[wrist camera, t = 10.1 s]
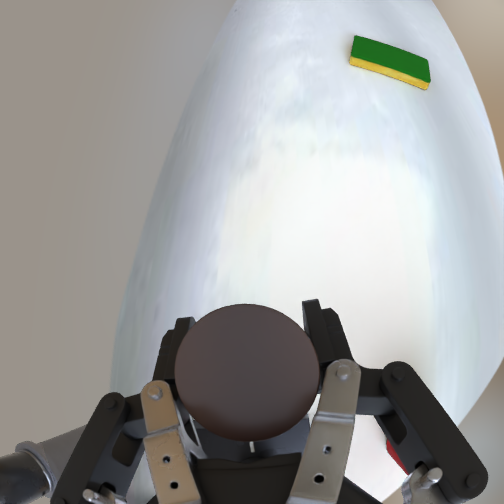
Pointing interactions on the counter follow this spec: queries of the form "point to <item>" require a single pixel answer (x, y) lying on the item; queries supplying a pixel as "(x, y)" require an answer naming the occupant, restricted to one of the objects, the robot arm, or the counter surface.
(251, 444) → the panel
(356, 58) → the dish sponge
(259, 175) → the counter surface
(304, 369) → the dark brown cylinder
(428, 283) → the counter surface
